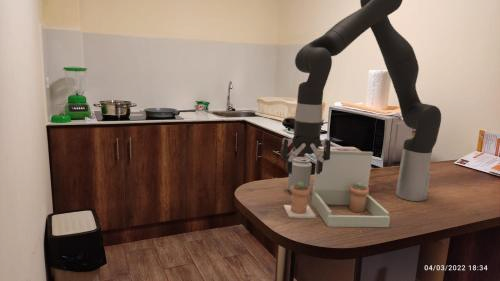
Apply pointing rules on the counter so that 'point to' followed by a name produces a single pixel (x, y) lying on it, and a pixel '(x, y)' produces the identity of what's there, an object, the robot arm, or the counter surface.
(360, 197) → the clay pot
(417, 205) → the counter surface
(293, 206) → the clay pot
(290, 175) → the can
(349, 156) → the cold frame
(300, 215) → the tile
